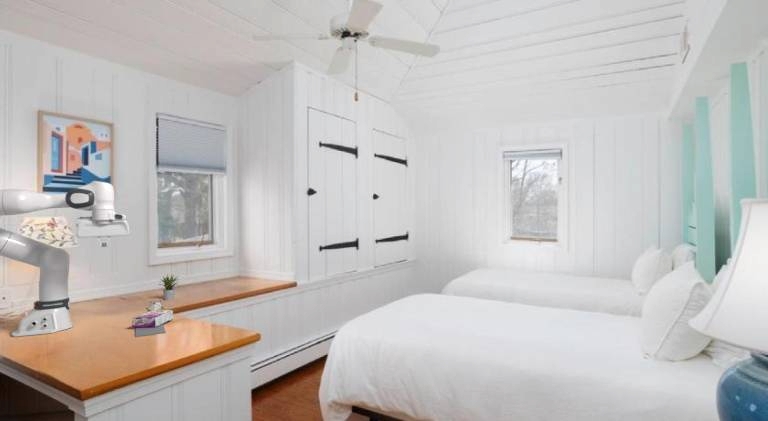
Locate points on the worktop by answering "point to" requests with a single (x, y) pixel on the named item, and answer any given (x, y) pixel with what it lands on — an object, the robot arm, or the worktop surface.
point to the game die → (154, 306)
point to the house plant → (169, 287)
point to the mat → (150, 330)
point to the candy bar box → (152, 318)
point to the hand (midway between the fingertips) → (104, 246)
